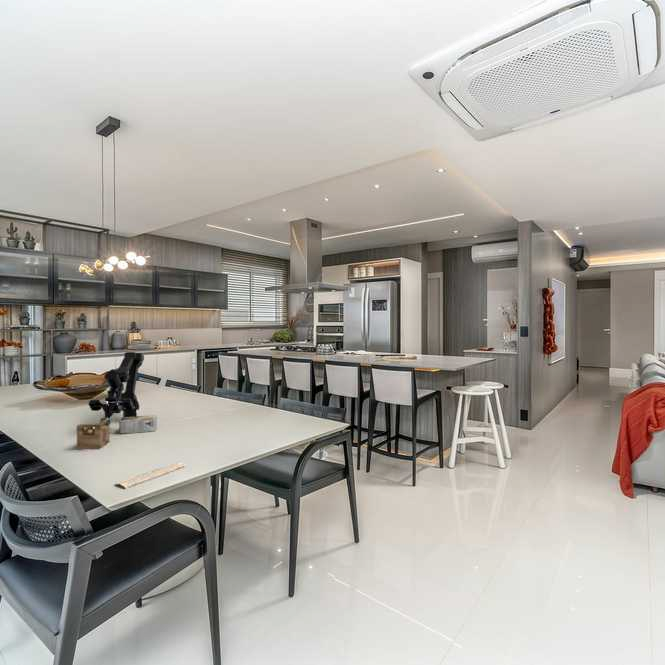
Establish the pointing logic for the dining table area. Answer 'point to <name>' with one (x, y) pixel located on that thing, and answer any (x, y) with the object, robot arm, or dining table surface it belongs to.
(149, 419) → the coffee box
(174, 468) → the beige curved strip
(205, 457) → the dining table surface
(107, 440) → the mount
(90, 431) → the lock pin
